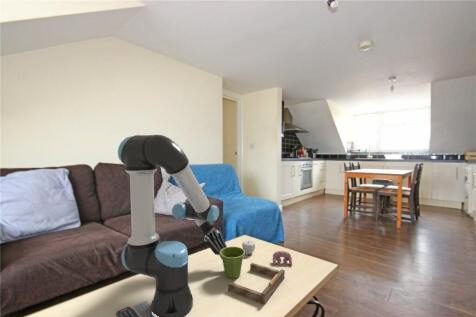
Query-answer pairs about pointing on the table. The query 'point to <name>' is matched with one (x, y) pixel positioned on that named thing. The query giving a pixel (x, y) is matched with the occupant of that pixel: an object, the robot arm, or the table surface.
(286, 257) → the video game controller
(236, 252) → the plant pot
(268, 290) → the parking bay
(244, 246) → the apple
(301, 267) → the table surface
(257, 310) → the table surface
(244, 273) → the table surface
